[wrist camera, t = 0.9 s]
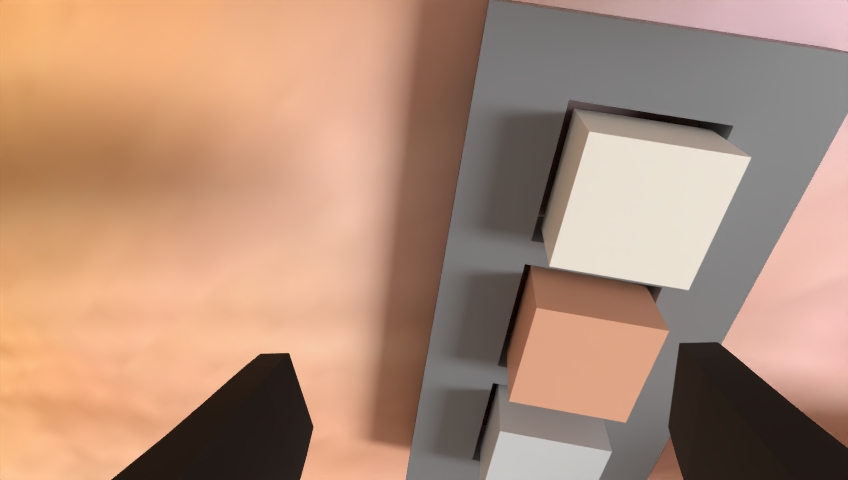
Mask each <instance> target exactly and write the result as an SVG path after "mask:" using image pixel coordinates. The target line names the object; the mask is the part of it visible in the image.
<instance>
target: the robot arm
mask: <svg viewBox="0 0 848 480" xmlns="http://www.w3.org/2000/svg"><path fill="white" fill-rule="evenodd" d="M668 428H669V432H670V435H671V439H672V443H673V446H674V450H675V453H676V457H677V460H678V463H679V467H680V470H681V473H682V476H683V480H848V448H847V447H845V446H844V445H843V444H842V443H840V442H839V441H838V440H836V439H835V438H834V437H833V436H831V435H830V434H829V433H828V432H826V431H825V430H824V429H823V428H821V427H820V426H819V425H817V424H816V423H815V422H814V421H812V420H811V419H810V418H809V417H807V416H806V415H805V414H804V413H803V412H801V411H800V410H799V409H798V408H796V407H795V406H794V405H793V404H791V403H790V402H789V401H788V400H787V399H785V398H784V397H783V396H782V395H781V394H779V393H778V392H777V391H776V390H775V389H773V388H772V387H771V386H770V385H769V384H767V383H766V382H765V381H764V380H763V379H761V378H760V377H759V376H758V375H757V374H755V373H754V372H753V371H752V370H751V369H749V368H748V367H747V366H746V365H745V364H744V363H742V362H741V361H740V360H739V359H738V358H736V357H735V356H734V355H733V354H732V353H730V352H729V351H728V350H727V349H726V348H724V347H723V346H722V345H721V344H719V343H718V342H699V343H679V349H678V357H677V364H676V372H675V379H674V387H673V394H672V402H671V409H670V416H669V424H668ZM312 431H313V424H312V421H311V418H310V415H309V412H308V409H307V406H306V403H305V400H304V397H303V394H302V391H301V388H300V385H299V382H298V379H297V376H296V373H295V370H294V367H293V364H292V361H291V358H290V355H289V353H276V354H260V355H258V356H257V357H256V358H255V359H253V360H252V361H251V362H250V363H249V364H247V365H246V366H245V367H244V368H243V369H241V370H240V371H239V372H238V373H237V374H236V375H235V376H233V377H232V378H231V379H230V380H229V381H228V382H227V383H225V384H224V385H223V386H222V387H221V388H220V389H219V390H217V391H216V392H215V393H214V394H213V395H212V396H211V397H210V398H208V399H207V400H206V401H205V402H204V403H203V404H202V405H200V406H199V407H198V408H197V409H196V410H195V411H193V412H192V413H191V414H190V415H189V416H188V417H187V418H185V419H184V420H183V421H182V422H181V423H180V424H178V425H177V426H176V427H175V428H174V429H173V430H172V431H170V432H169V433H168V434H167V435H166V436H165V437H163V438H162V439H161V440H160V441H158V442H157V443H156V444H155V445H153V446H152V447H151V448H150V449H149V450H147V451H146V452H145V453H144V454H142V455H141V456H140V457H139V458H137V459H136V460H135V461H134V462H133V463H131V464H130V465H129V466H128V467H126V468H125V469H124V470H123V471H121V472H120V473H119V474H118V475H117V476H115V477H114V478H113V479H112V480H300V478H301V475H302V471H303V467H304V463H305V460H306V456H307V452H308V448H309V443H310V439H311V435H312Z"/></svg>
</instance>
